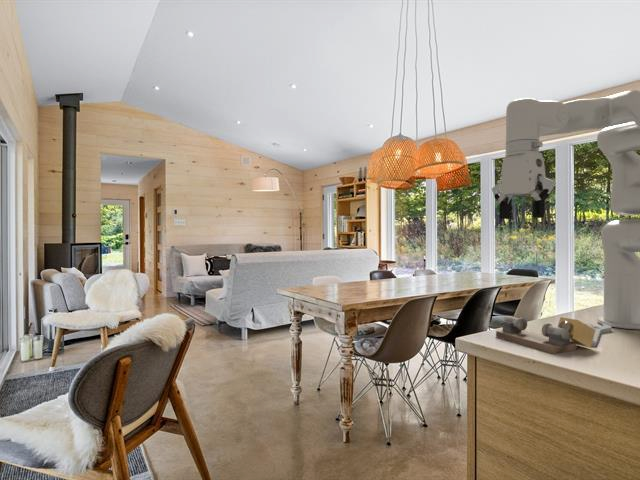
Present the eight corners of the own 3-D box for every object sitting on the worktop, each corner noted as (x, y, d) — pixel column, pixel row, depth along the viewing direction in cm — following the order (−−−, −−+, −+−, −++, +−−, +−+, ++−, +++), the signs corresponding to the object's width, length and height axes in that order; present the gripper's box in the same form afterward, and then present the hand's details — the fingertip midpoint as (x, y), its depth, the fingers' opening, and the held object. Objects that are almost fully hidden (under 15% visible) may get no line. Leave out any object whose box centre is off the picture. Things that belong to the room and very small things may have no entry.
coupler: (577, 326, 100) (558, 315, 98) (595, 330, 96) (575, 318, 94) (572, 343, 100) (552, 333, 97) (590, 347, 95) (570, 336, 93)
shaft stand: (517, 333, 109) (517, 313, 109) (576, 349, 95) (576, 325, 95) (496, 336, 106) (496, 315, 106) (553, 353, 91) (554, 329, 91)
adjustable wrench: (595, 349, 97) (595, 342, 97) (565, 344, 101) (565, 337, 101) (612, 331, 115) (612, 325, 115) (586, 327, 119) (586, 321, 119)
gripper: (565, 145, 95) (563, 217, 95) (503, 157, 111) (502, 219, 111) (543, 141, 92) (542, 216, 92) (483, 154, 108) (482, 218, 108)
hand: (520, 218), depth 102 cm, fingers open, 9 cm apart
